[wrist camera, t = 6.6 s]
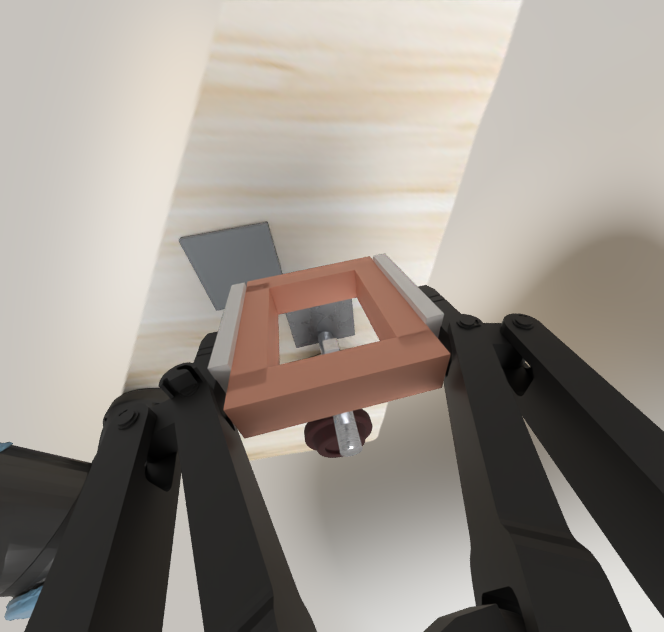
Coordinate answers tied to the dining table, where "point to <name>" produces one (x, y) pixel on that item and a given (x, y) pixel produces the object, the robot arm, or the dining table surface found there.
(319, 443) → the coffee cup
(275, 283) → the link
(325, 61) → the dining table surface
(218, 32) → the dining table surface
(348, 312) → the stand
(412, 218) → the dining table surface
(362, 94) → the dining table surface
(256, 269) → the coaster
